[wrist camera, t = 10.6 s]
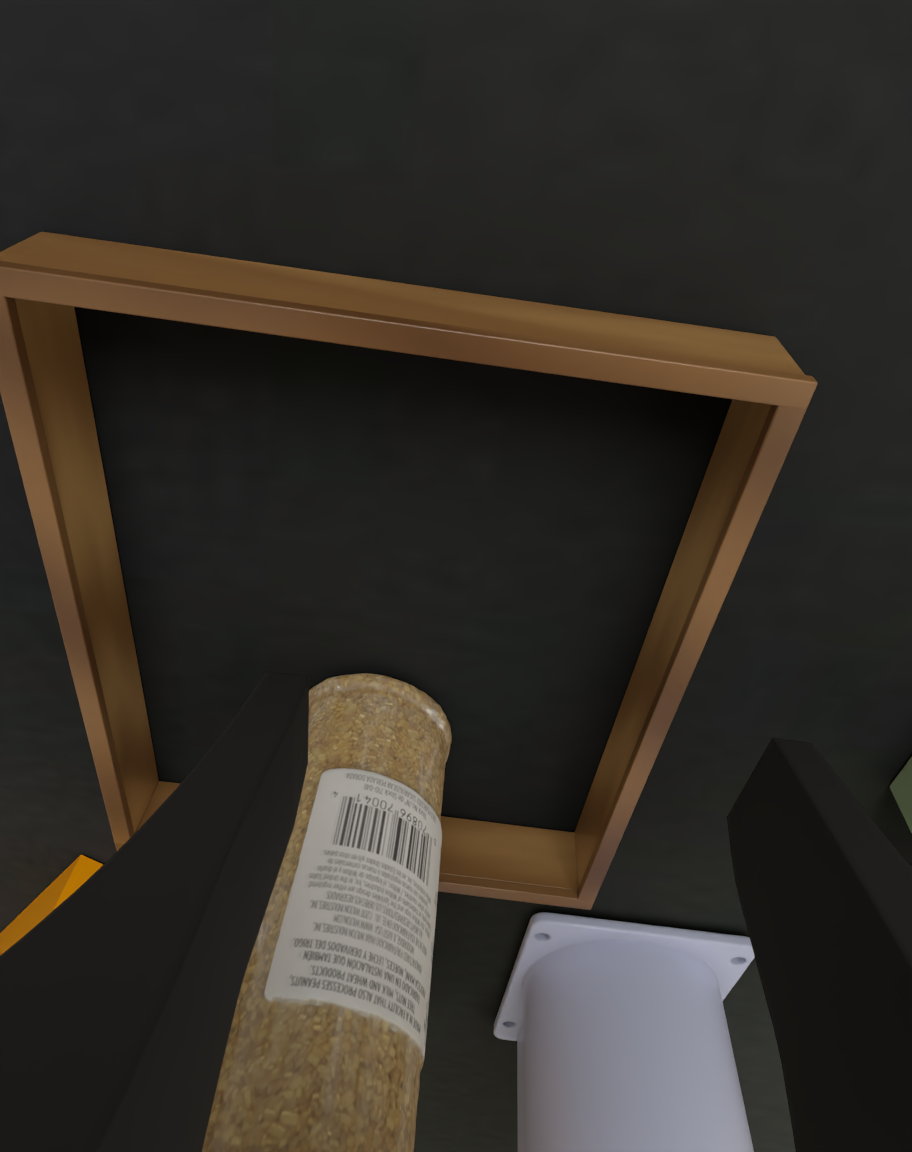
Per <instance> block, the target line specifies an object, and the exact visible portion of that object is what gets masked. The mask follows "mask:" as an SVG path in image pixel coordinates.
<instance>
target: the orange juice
mask: <svg viewBox="0 0 912 1152" xmlns="http://www.w3.org/2000/svg"><path fill="white" fill-rule="evenodd" d="M101 866H103V864H101V863H99V862H97V861H94V860H92V859H90V858H88V857H86V856H83V855H80V856H79V857H78V858H77V859H76V860H75V861H74V862H73V863H72V864H71V865H70V866H69V867H68V868H67V869H66V870H65V871H64V872H63V873H62V874H61V875H59V876H58V877H57V878H56V879H55V880H54V881H53V882H52V883H51V884H50V885H49V886H48V887H47V888H46V889H45V890H44V891H43V892H42V893H41V894H40V895H39V896H38V897H37V898H36V899H35V900H34V901H33V902H32V903H31V904H30V905H29V906H28V907H27V908H26V909H25V910H24V911H22V912H21V913H20V914H19V915H18V916H17V917H16V918H15V919H14V920H13V921H12V922H11V923H10V924H9V925H8V926H7V927H6V928H5V929H4V930H3V931H2V932H1V933H0V955H1V954H3V953H4V952H5V951H6V950H8V949H9V948H10V947H11V946H12V945H14V944H15V943H16V942H17V941H18V940H20V939H21V938H22V937H23V936H24V935H26V934H27V933H28V932H29V931H30V930H32V929H33V928H34V927H35V926H36V925H37V924H38V923H40V922H41V921H42V920H43V919H44V918H45V917H46V916H48V915H49V914H50V913H51V912H52V911H53V910H54V909H56V908H57V907H58V906H59V905H60V904H61V903H62V902H63V901H65V900H66V899H67V898H68V897H69V896H70V895H71V894H73V893H74V892H75V891H76V890H77V889H78V888H79V887H80V886H81V885H82V884H83V883H85V882H86V881H87V880H88V879H89V878H90V877H91V876H92V875H93V874H94V873H95V872H96V871H97V870H98V869H99V868H100V867H101Z"/></svg>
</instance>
